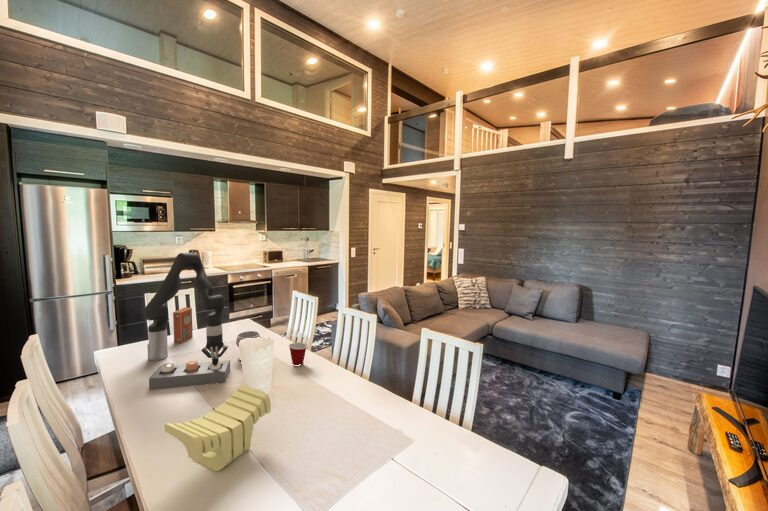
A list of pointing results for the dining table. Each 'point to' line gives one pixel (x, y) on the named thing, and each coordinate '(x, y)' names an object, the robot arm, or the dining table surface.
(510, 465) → the dining table surface
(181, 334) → the orange cracker box
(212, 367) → the right knob
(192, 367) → the middle knob
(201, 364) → the console
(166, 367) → the left knob
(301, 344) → the plastic cup
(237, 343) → the chalice
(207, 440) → the slatted curved stool
